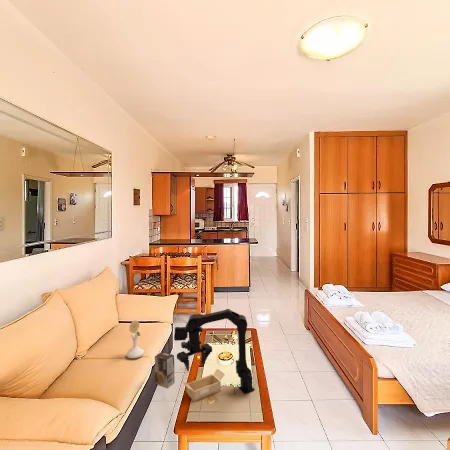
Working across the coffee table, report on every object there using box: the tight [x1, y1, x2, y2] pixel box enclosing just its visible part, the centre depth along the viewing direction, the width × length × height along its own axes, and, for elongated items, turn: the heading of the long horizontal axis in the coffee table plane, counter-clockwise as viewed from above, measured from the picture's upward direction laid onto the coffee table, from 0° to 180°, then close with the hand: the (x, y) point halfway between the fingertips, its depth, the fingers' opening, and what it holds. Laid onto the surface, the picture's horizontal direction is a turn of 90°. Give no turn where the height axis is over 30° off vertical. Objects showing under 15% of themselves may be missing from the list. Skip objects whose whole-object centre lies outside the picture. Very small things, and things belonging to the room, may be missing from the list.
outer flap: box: [181, 381, 193, 390], centre depth 153 cm, size 7×4×1 cm
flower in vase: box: [125, 319, 145, 359], centre depth 197 cm, size 13×11×25 cm
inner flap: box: [212, 368, 225, 381], centre depth 164 cm, size 7×4×1 cm
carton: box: [186, 374, 222, 402], centre depth 158 cm, size 9×16×5 cm, turn 124°
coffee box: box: [154, 351, 176, 389], centre depth 166 cm, size 9×6×16 cm
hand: (195, 368), depth 159 cm, fingers open, 9 cm apart
